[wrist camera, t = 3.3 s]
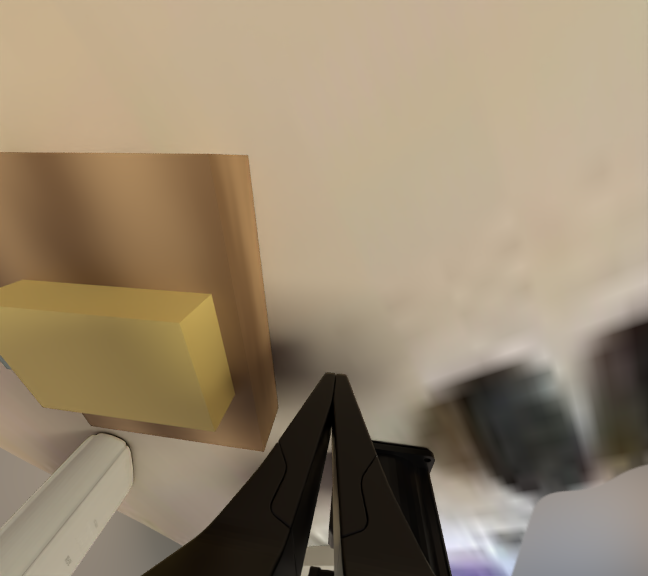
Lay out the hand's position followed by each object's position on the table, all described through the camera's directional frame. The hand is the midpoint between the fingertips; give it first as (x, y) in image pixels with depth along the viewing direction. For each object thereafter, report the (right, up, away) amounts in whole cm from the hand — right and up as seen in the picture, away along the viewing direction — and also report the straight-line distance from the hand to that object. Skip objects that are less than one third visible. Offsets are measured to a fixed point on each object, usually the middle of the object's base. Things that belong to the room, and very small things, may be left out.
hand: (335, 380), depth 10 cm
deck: (-10, +3, +5) cm, 11 cm away
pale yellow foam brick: (-10, +1, +2) cm, 10 cm away
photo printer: (-22, -14, +15) cm, 30 cm away
